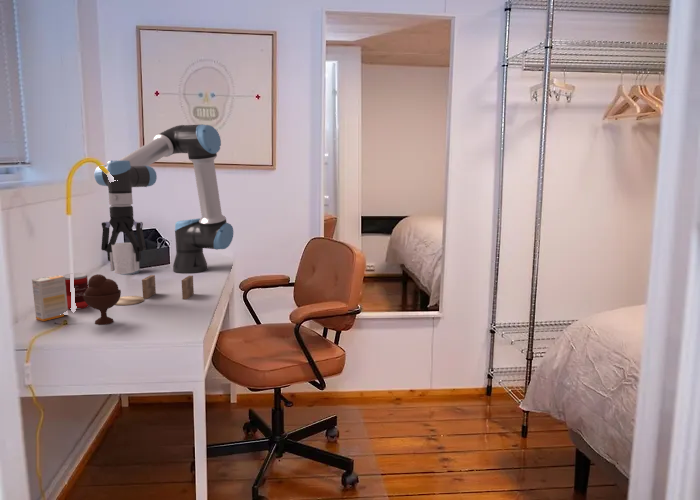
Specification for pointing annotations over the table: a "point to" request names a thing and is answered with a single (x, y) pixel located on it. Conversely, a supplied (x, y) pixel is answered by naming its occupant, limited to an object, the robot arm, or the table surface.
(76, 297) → the canned food
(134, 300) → the cork coaster
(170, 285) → the table surface
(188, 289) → the walnut cradle
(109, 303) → the ice cream bowl
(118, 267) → the white cup
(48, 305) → the supplement box
